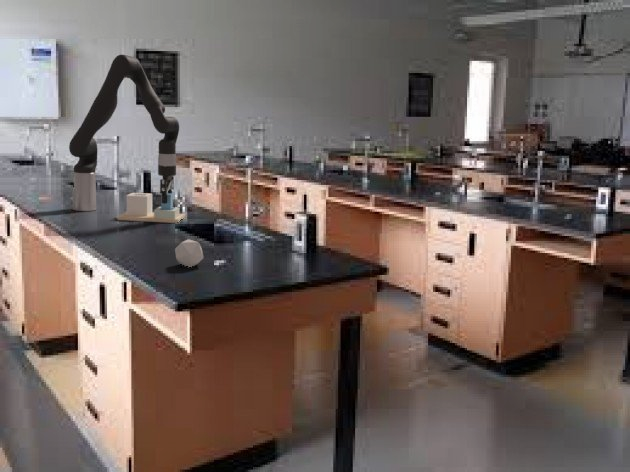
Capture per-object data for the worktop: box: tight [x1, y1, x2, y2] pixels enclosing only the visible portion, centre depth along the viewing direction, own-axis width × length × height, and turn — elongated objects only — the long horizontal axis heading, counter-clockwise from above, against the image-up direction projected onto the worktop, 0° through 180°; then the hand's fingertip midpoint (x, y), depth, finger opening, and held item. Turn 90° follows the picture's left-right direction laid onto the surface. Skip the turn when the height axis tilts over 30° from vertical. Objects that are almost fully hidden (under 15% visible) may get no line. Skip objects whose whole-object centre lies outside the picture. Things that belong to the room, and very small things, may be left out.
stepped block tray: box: [117, 192, 186, 224], centre depth 278 cm, size 26×14×10 cm, turn 89°
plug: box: [160, 192, 174, 210], centre depth 276 cm, size 4×4×10 cm
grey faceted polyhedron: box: [174, 238, 204, 268], centre depth 204 cm, size 8×9×10 cm
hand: (167, 201), depth 275 cm, fingers open, 8 cm apart
